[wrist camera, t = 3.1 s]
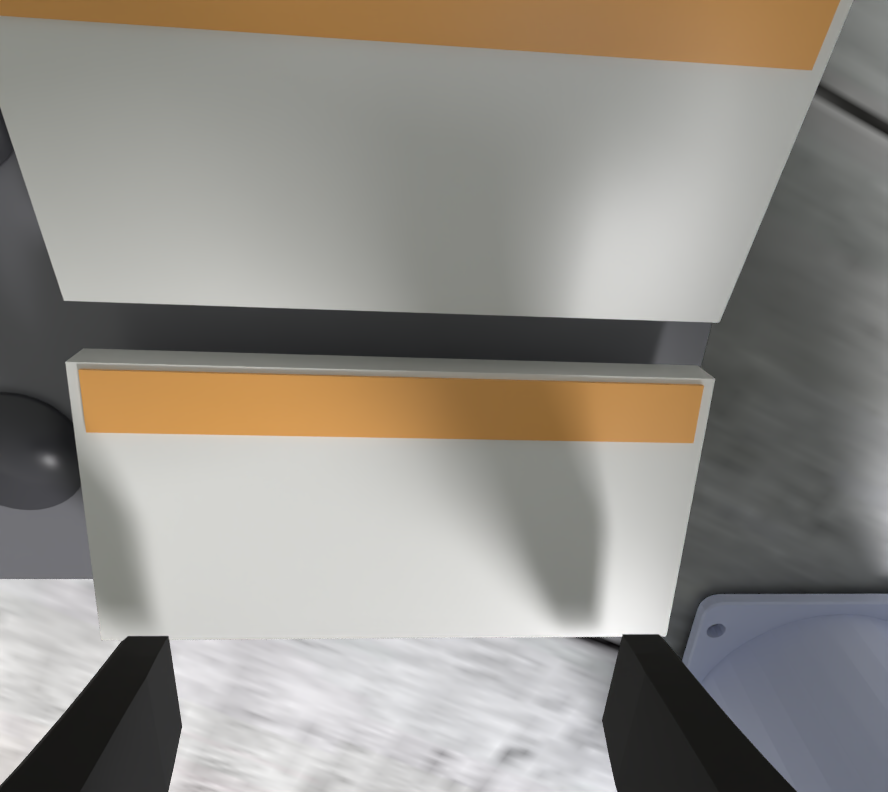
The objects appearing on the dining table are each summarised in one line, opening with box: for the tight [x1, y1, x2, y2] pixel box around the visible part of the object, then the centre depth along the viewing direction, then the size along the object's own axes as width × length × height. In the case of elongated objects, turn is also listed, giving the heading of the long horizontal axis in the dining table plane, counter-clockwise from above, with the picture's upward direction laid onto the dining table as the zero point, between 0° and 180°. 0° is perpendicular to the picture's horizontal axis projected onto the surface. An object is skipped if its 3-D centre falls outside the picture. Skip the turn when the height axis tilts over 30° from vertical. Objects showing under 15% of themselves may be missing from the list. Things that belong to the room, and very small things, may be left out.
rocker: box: [65, 348, 715, 641], centre depth 13 cm, size 5×10×1 cm, turn 86°
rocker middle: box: [0, 0, 854, 323], centre depth 10 cm, size 5×10×1 cm, turn 86°
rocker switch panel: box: [0, 108, 712, 579], centre depth 12 cm, size 18×14×3 cm
